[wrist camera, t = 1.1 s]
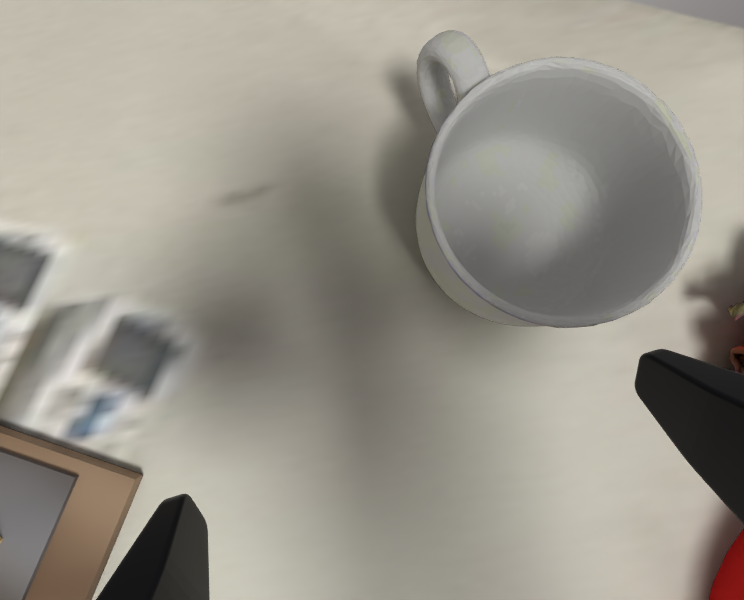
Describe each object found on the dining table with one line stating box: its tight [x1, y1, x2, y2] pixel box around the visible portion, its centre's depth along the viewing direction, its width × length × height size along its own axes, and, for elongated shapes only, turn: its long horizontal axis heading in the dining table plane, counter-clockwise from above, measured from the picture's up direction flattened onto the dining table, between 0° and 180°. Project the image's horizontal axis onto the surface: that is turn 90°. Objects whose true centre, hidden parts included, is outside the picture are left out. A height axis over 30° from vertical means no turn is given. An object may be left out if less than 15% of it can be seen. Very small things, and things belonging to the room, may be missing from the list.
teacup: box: [416, 30, 702, 328], centre depth 20 cm, size 14×11×8 cm
